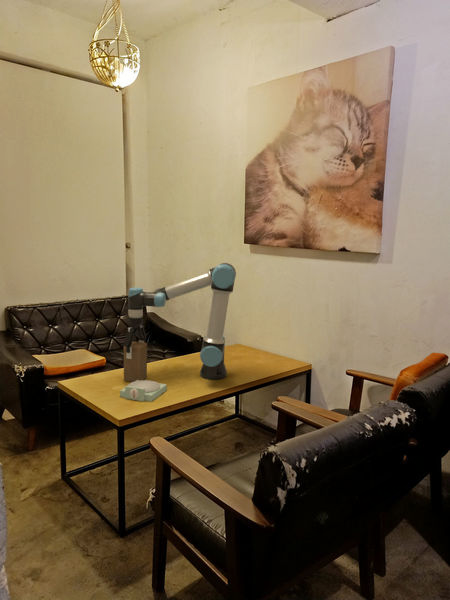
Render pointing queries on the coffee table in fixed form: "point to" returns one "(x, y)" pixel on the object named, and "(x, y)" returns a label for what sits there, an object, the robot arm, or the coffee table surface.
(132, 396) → the scale
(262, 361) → the coffee table surface
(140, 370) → the wooden block
